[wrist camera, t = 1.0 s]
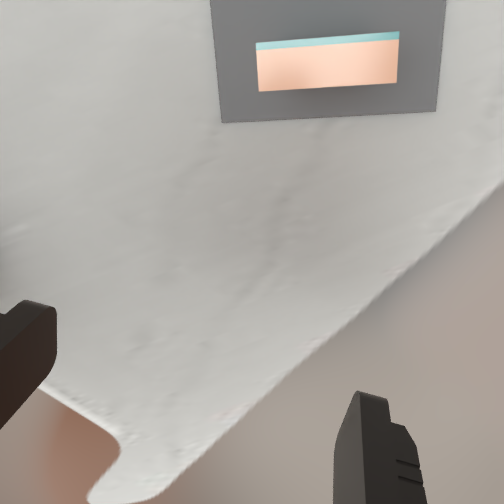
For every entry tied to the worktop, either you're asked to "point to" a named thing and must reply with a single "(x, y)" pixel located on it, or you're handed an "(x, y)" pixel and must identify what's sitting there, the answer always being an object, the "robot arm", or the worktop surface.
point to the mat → (317, 26)
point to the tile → (328, 61)
